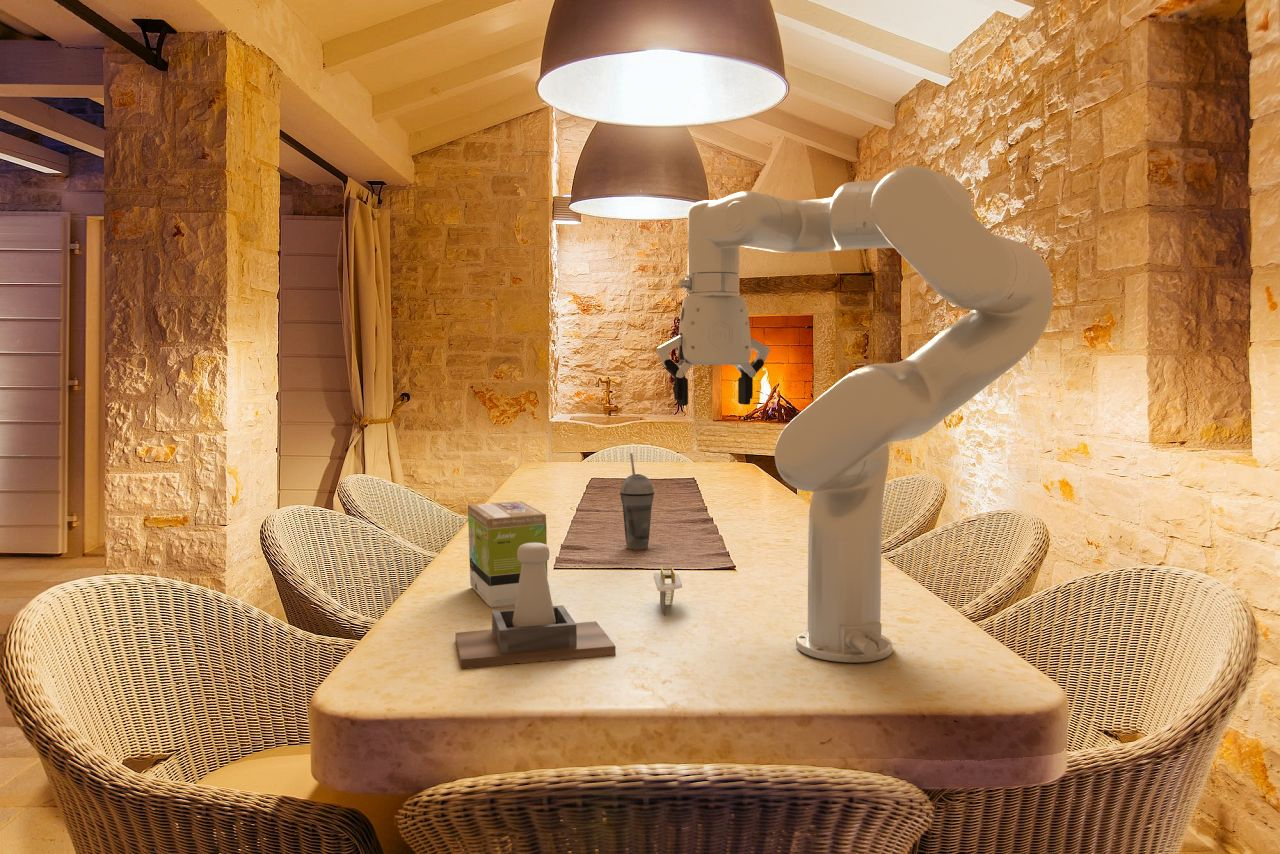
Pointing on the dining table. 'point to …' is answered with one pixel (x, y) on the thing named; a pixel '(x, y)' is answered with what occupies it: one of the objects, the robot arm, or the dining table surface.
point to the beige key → (667, 586)
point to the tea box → (501, 547)
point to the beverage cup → (637, 509)
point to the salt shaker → (533, 588)
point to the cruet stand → (531, 641)
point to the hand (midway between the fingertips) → (713, 404)
